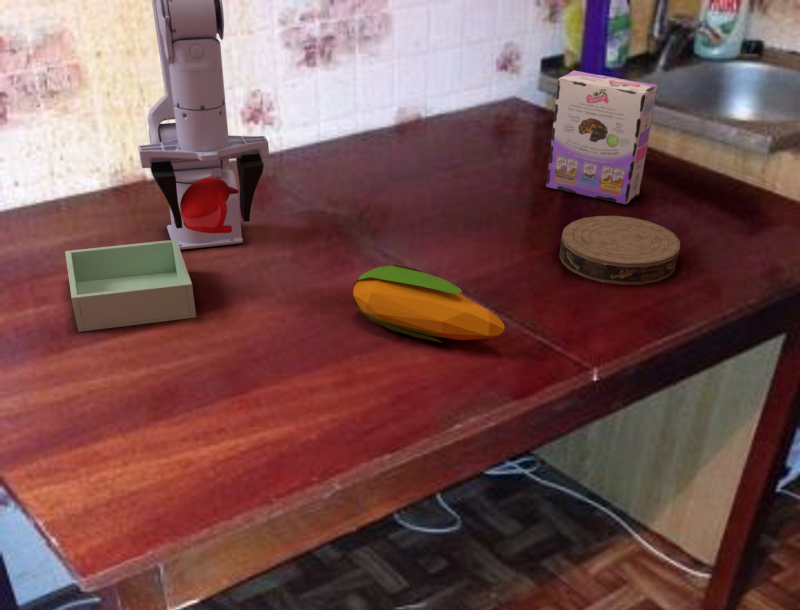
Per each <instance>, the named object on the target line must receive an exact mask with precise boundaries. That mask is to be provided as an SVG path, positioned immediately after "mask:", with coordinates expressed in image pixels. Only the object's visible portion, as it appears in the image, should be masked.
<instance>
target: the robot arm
mask: <svg viewBox="0 0 800 610" xmlns="http://www.w3.org/2000/svg"><path fill="white" fill-rule="evenodd" d="M223 5H224V4H223V0H151V6H152V13H153V20H154V25H155V33H156V40H157V46H158V53H159V61H160V67H161V75H162V81H163V87H164V95H163V96H162V97H161V98H160V99H159V100H158V101H157V102H156V103H155V104H153V106H152V107H151V108H150V109H149V111H148V115H147V125H148V138H149V144H139V145H137V149H138V156H139V162H140V166H141V168H142V169H150V172H151V175H152V177H153V179H154V182H155V183H156V184H157V186H158V187H159V189H160V190H161V192H162V193H163V196H164V198H165V199H166V202H167V204H168V208H169V213H170V214H169V216H170V221H171V223H170V224H168V225H166V229H167V232H168V235H169V238H170V239H169V240H177V242H178V245H179V248H180V251H182V250H190V249H199V248H208V247H209V248H210V247H219V246H228V245H237V244H242V243H243V242H244V241H243V240H244V239H243V236H242V235H243V234H242V224H241V223H242V222H241V218H242V221H243V222H244V223H246V222H247V223H248V222H250V221H251V210H252V205H253V201H254V200H253V199H254V195H255V192H256V189H257V186H258V184H259V181H260V179H261V177H262V175H263V173H264V166H265V165H264V162H263V159H269V158H270V149H269V140H268V139H267V136H265V135H229V127H228V116H227V115H228V114H227V106H226V104H227V103H226V92H225V91H226V90H225V81H224V71H223V60H222V59H223V58H222V48H221V47H222V46H221V42H220V40H221V41H223V40H224V33H225V32H224V31H225V14H224V6H223ZM217 36H218V37H219V39H220V40H219V39H218V37H217ZM169 120H171V121H172V120H175V122H168V123H167V122H166V123H162V122H164V121H169ZM230 160H235V161H236V168H237V175H238V184H239V185H237V179H236V175H235V173H234V171H233V170H232V169H227V167H228V165H229V164H230ZM208 177H215V178H219V179H221V180H223V181H224V182H225V183H226V184H227V185H228V186H230V187H233V188H235V189H237V190H238V186H239V193H236V194H230V196H229V198H228V200H227V201H226V205H227V215H226V218H225V222H224V225H223V226H226V225H230V226H232V232H231V233H204V232H198V231H193V230H190V229H188V228H186V227H185V226H184V223H183V220H182V217H181V213H180V203H181V199H182V196H183V194H184V193H185V191H186V190H187V189H188V188H189V187H190V186H191V185H192V184H193V183H195V182H196V181H198V180H200V179H203V178H208Z"/></svg>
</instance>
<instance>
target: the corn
mask: <svg viewBox="0 0 800 610" xmlns="http://www.w3.org/2000/svg"><path fill="white" fill-rule="evenodd" d="M461 292H463V289H462V288H460V287H458V286H457V285H456V284H453V283H452V282H450V281H448V280H446V279H444V278H441V277H438V276H435V275H432V274H429V273H426V272H423V271H421V270H419V269H417V268H413V267H408V266H404V265H403V266H402V265H397V264H391V265H390V264H389V265H381V266H378V267H375V268H373V269H370V270H369V271H366V272H364V273H362V274H361V275H360V276H359V277H358V279H357V280H356V281H355V282H354V284H353V292H352V297H353V301H354V305H355V306H356V307H357V309H359V311H360V313H362V314H363V315H364V316H365V317H367V318H368V319H369V320H370V321H371V322H373V323H375V324H378V325H380V326H382V327H384V328H387V329H388V330H390V331H392V332H393V331H394V332H397V333H400V334H404V335H408V336H410V337H415V338H418V339H423V340H427V341H431V342H436V343H442V344H444V342H443V341H441V340H440V339H438V338H445V339H451V340H459V341H473V340H489V339H495V338H497V337H499V336H500V335H502V334H503V333H504V331H505V323H504V322H503V321H502V320H501V319H500V317H499V316H498V315H496V314H495V313H493V312H492V311H490V310H489V309H487V308H485V307H484V306H482V305H480V304H479V303H477V302H475V301H473V300H471V299H470V298H468V297H467V296H465V295H463V294H460V293H461Z"/></svg>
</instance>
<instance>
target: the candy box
mask: <svg viewBox="0 0 800 610" xmlns="http://www.w3.org/2000/svg"><path fill="white" fill-rule="evenodd" d="M556 85H557V86H556V87H557V88H556V96H555V97H556V98H555V107H554V115H553V122H552V132H551V142H550V150H549V151H550V152H549V162H548V168H547V169H548V170H547V177H546V184H545V186H546V188H550V189H554V190H558V191H563V192H567V193H572V194H577V195H580V196H585V197H589V198H595V199H598V200H602V201H607V202H612V203H616V204H620V205H621V204H622V205H625V206H626V205H628V204H629V203H630V202H632V200H634V199H635V198H637V197H639V195H640V191H641V184H642V180H643V173H644V168H645V162H646V156H647V151H648V145H649V139H650V133H651V127H652V123H653V122H652V121H653V116H654V109H655V104H656V98H657V93H658V84H654V83H648V82H643V81H642V82H641V81H635V80H630V79H624V78H618V77H613V76H608V75H607V76H606V75H602V74H596V73H589V72H585V71H578V70H572V71H569V72H568V73H566V74H564V75H563V76H561V77H559V78H558V79H557V84H556Z"/></svg>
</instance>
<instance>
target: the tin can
mask: <svg viewBox="0 0 800 610" xmlns="http://www.w3.org/2000/svg"><path fill="white" fill-rule="evenodd" d="M560 239H561V240H560V246H559V255H558V257H559V259H560V261H561V263H562V265H564V266H565V267H566V268H567V269H568V270H570V271H571V272H572V273H575V274H577V275H579V276H581V277H583V278H585V279H588V280H592V281H596V282H600V283H603V284H613V285H619V286H632V285H633V286H641V285H647V284H648V285H649V284H652V283H657V282H660V281H662V280H665V279H667V278H669V277H670V276H672V274H673V273H674V272H675V271H676V268H677V262H678V258H679V253H680V250H681V249H680V248H681V241H680V240H679V238H678V236H677V235H676V234H675V233H674V232H672V231H671V230H669V229H668V228H666V227H665V226H662V225H659V224H657V223H654V222H652V221H649V220H645V219H640V218H637V217H632V216H631V217H630V216H622V215H621V216H620V215H596V216H589V217H588V216H587V217H583V218H580V219H577V220H573V221H572V222H570V223H568V224H567V225H566V226H565V227H564V228H563V230H562V233H561V238H560Z"/></svg>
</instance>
